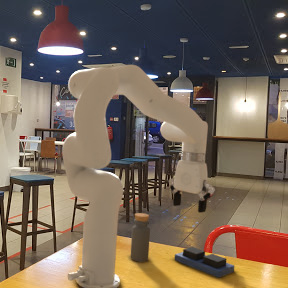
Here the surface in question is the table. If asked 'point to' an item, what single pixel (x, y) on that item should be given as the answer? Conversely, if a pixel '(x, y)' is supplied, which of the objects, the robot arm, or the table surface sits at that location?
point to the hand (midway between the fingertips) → (188, 208)
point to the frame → (205, 266)
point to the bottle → (140, 238)
